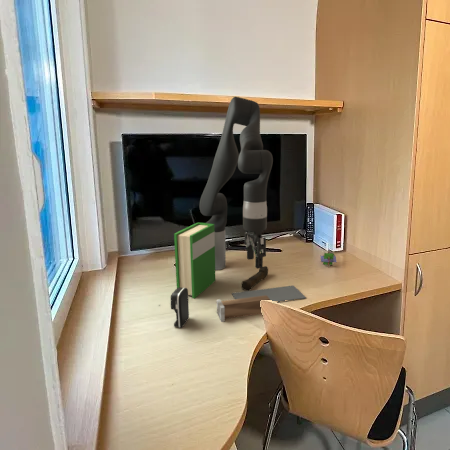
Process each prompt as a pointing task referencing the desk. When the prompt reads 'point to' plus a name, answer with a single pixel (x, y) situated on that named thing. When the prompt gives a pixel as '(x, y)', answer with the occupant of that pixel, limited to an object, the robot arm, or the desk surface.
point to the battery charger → (180, 306)
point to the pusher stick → (239, 307)
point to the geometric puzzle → (328, 258)
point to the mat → (273, 293)
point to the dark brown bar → (255, 278)
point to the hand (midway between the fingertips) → (254, 263)
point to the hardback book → (195, 258)
